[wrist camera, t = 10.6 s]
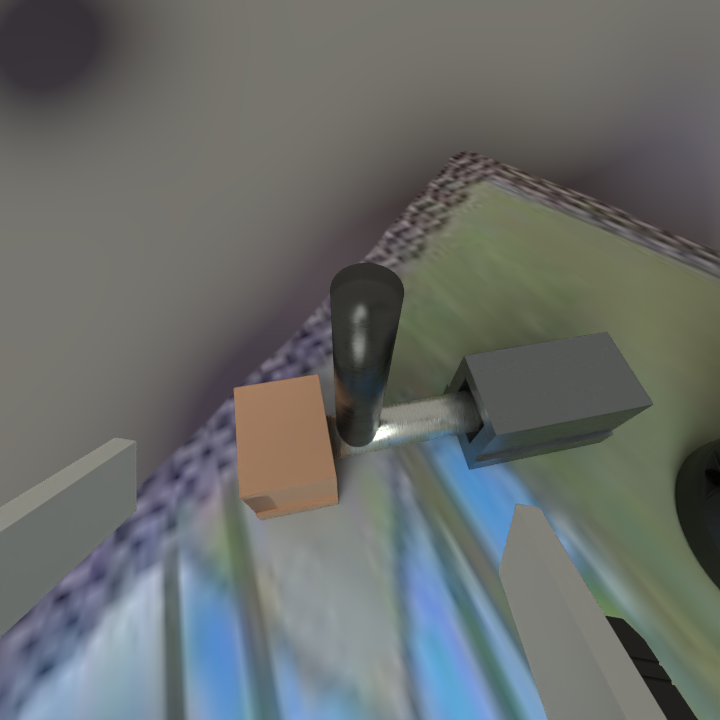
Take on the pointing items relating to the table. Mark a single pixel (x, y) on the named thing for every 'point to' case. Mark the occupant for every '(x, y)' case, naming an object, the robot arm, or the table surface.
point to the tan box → (284, 447)
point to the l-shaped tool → (380, 371)
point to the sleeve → (546, 397)
